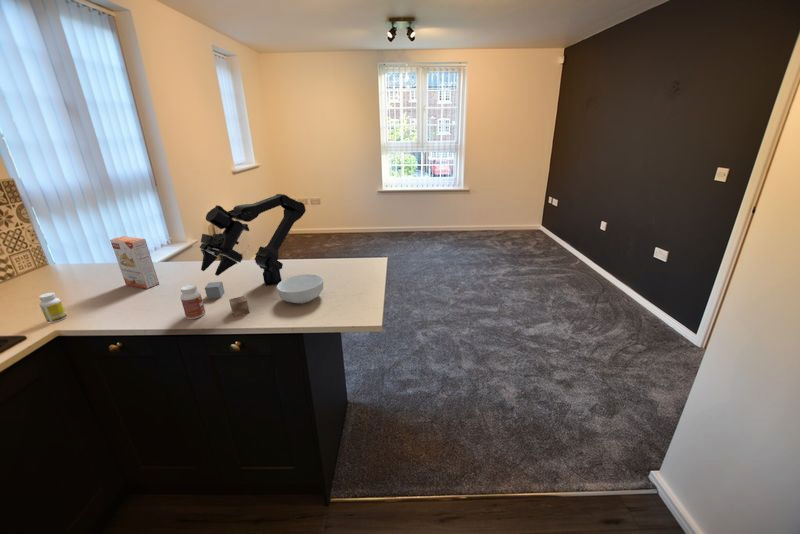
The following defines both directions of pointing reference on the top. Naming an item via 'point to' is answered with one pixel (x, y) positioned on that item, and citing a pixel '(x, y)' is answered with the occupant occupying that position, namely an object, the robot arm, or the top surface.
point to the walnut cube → (239, 306)
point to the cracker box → (135, 261)
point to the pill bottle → (192, 302)
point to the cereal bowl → (300, 288)
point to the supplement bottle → (52, 308)
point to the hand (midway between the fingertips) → (209, 272)
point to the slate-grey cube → (214, 290)
